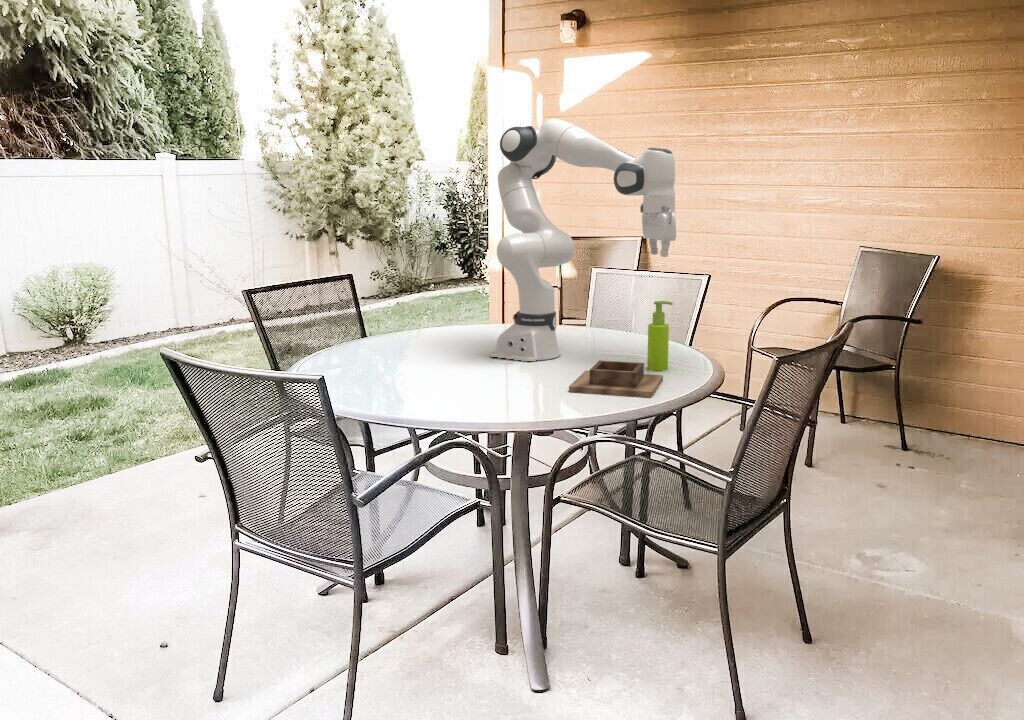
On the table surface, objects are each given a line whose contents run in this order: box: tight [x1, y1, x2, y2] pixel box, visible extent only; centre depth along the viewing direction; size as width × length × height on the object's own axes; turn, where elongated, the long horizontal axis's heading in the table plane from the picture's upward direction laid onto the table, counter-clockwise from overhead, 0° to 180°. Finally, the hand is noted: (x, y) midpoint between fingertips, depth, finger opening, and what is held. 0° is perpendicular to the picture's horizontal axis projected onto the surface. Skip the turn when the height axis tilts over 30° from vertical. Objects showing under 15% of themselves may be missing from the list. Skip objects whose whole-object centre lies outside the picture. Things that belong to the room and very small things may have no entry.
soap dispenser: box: [647, 300, 674, 372], centre depth 226 cm, size 6×7×20 cm
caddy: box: [568, 359, 664, 398], centre depth 210 cm, size 22×18×6 cm
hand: (659, 255), depth 224 cm, fingers open, 8 cm apart
